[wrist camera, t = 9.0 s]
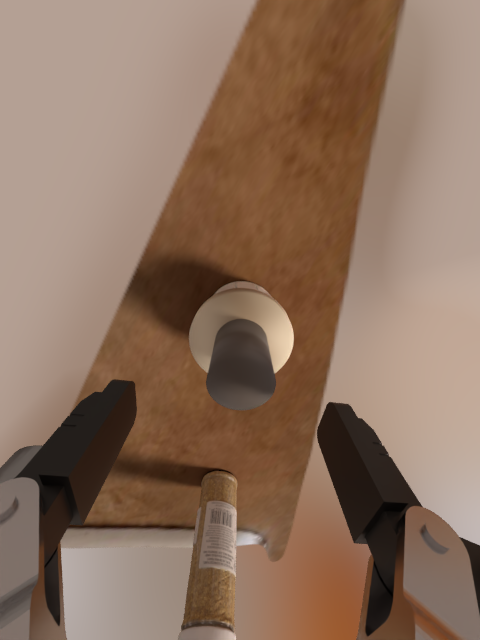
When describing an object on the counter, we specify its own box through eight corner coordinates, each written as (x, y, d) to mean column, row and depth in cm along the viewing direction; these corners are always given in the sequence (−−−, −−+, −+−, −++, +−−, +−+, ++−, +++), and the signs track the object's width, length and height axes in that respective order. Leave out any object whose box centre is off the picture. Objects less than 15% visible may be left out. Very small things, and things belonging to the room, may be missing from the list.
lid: (218, 385, 17) (209, 445, 13) (173, 311, 15) (143, 353, 10) (302, 356, 16) (326, 411, 12) (270, 270, 14) (285, 298, 9)
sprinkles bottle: (195, 481, 29) (160, 679, 16) (216, 464, 27) (195, 668, 15) (223, 494, 30) (211, 688, 18) (245, 478, 28) (248, 678, 16)
